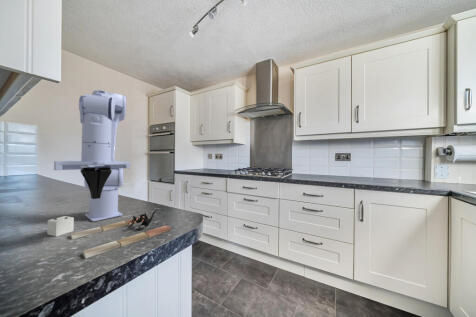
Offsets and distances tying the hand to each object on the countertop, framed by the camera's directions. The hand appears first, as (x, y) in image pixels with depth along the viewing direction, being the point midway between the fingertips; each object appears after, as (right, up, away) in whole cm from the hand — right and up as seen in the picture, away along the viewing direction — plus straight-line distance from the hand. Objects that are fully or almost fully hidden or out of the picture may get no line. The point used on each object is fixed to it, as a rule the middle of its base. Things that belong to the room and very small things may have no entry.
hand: (95, 198), depth 43 cm
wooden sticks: (+6, -9, +1) cm, 11 cm away
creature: (+8, -10, +5) cm, 14 cm away
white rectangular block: (-10, -9, +1) cm, 13 cm away
